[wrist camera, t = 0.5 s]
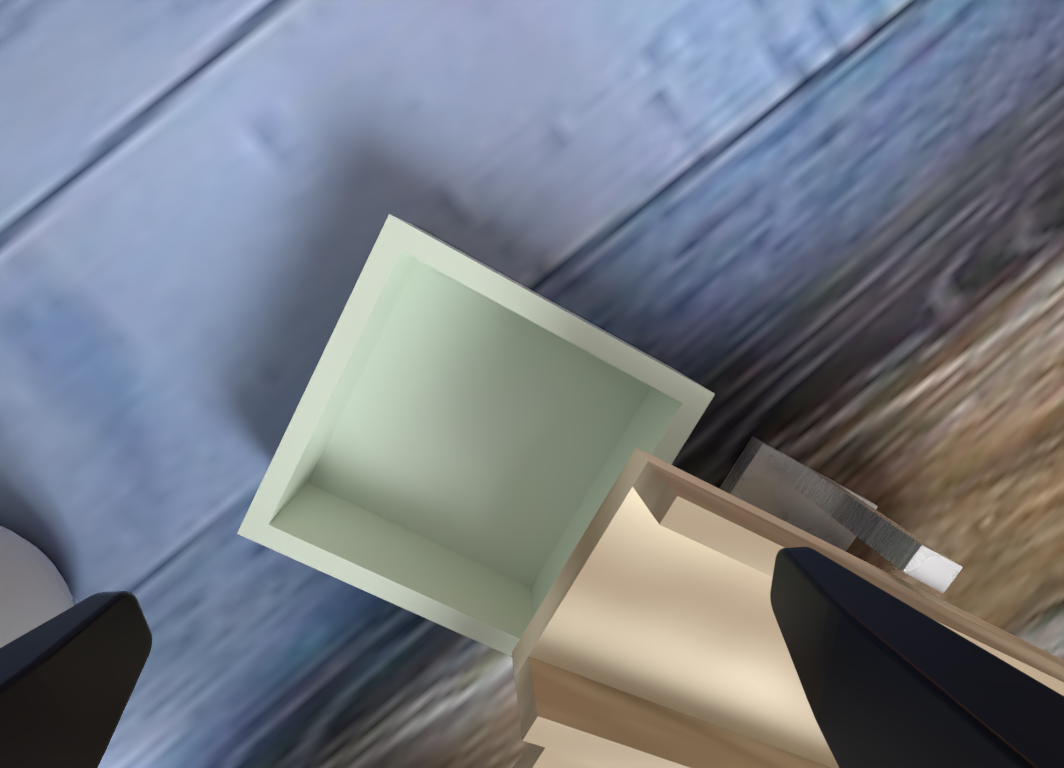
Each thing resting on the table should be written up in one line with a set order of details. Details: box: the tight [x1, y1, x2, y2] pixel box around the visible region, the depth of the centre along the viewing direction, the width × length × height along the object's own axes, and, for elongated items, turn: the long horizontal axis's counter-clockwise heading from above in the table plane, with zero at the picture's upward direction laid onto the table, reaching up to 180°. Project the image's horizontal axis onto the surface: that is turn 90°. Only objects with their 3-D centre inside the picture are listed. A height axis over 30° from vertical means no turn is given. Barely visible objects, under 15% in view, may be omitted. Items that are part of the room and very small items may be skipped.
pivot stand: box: [719, 436, 963, 593], centre depth 21 cm, size 10×6×8 cm, turn 151°
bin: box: [237, 214, 715, 657], centre depth 20 cm, size 12×12×4 cm
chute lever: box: [512, 447, 1064, 768], centre depth 19 cm, size 17×19×6 cm
